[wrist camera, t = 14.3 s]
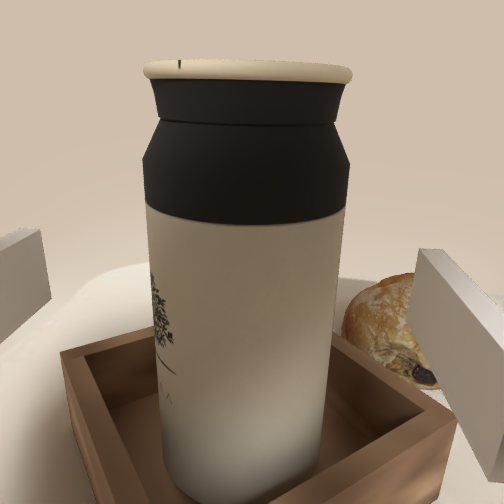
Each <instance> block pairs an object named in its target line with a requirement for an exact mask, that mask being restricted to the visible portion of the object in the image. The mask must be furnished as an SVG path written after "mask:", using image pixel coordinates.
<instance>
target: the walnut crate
mask: <svg viewBox="0 0 504 504" xmlns="http://www.w3.org/2000/svg"><path fill="white" fill-rule="evenodd" d="M60 357H61V363H62V369H63V375H64V381H65V387H66V393H67V399H68V405H69V411H70V417H71V423H72V427H73V431H74V434H75V437H76V440H77V443H78V446H79V449H80V452H81V455H82V458H83V461H84V464H85V467H86V471H87V474H88V477H89V480H90V483H91V486H92V489H93V492H94V495H95V498H96V501H97V504H201V503H199V502H197V501H195V500H194V499H192V498H190V497H189V496H188V495H186V494H185V493H184V492H183V491H182V490H181V489H179V488H178V487H177V485H176V484H175V483H174V482H173V480H172V479H171V477H170V476H169V474H168V472H167V470H166V467H165V464H164V459H163V449H162V435H161V420H160V406H159V392H158V377H157V363H156V348H155V334H154V326H152V327H148V328H145V329H141V330H137V331H134V332H130V333H127V334H123V335H119V336H116V337H112V338H109V339H105V340H102V341H98V342H94V343H91V344H87V345H84V346H80V347H76V348H73V349H69V350H66V351H62V352H60ZM457 422H458V421H457V419H456V417H455V415H454V413H453V412H452V411H450V410H449V409H447V408H446V407H444V406H443V405H441V404H440V403H438V402H437V401H435V400H434V399H432V398H431V397H429V396H428V395H426V394H425V393H423V392H422V391H420V390H419V389H417V388H416V387H414V386H413V385H411V384H410V383H408V382H407V381H405V380H404V379H402V378H401V377H400V376H398V375H397V374H395V373H394V372H392V371H391V370H389V369H388V368H386V367H385V366H383V365H382V364H380V363H379V362H377V361H376V360H374V359H373V358H371V357H370V356H368V355H367V354H365V353H364V352H362V351H361V350H359V349H358V348H356V347H355V346H353V345H352V344H350V343H349V342H347V341H346V340H344V339H343V338H341V337H340V336H338V335H337V334H335V333H334V332H332V338H331V348H330V357H329V367H328V376H327V385H326V395H325V404H324V414H323V423H322V432H321V442H320V451H319V459H318V463H317V467H316V469H315V472H314V474H313V475H312V477H311V479H309V480H307V481H306V482H304V483H302V484H300V485H299V486H297V487H295V488H294V489H292V490H290V491H289V492H287V493H285V494H283V495H282V496H280V497H278V498H277V499H275V500H273V501H272V502H270V503H268V504H431V503H432V502H433V501H435V500H436V499H437V498H438V496H439V492H440V488H441V484H442V480H443V477H444V473H445V469H446V465H447V461H448V457H449V453H450V449H451V445H452V441H453V437H454V434H455V430H456V426H457Z"/></svg>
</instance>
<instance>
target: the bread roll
mask: <svg viewBox="0 0 504 504" xmlns="http://www.w3.org/2000/svg"><path fill="white" fill-rule="evenodd" d="M414 274H415V273H405V274H401V275H395V276H391V277H389V278H385V279H383V280H381V281H380V283H378V284H376V285H374V286H371V287H369V288H366V289H364V290H363V291H361V292H360V293H359V294H357V295H356V297H355V298H354V299H353V300H352V301H351V303H350V304H349V306H348V308H347V310H346V312H345V315H344V320H343V324H342V338H343V339H344V340H346V341H347V342H349V343H350V344H352V345H353V346H355V347H356V348H358V349H359V350H361V351H362V352H364V353H365V354H367V355H368V356H370V357H371V358H373V359H374V360H376V361H377V362H379V363H380V364H382V365H383V366H385V367H386V368H388V369H389V370H391V371H392V372H394V373H395V374H397V375H398V376H400V377H401V378H402V379H404V380H405V381H407V382H408V383H410V384H411V385H413V386H414V387H416V388H417V389H428V390H436V389H441V388H440V386H439V384H438V382H437V380H436V378H435V376H434V374H433V372H432V370H431V368H430V366H429V364H428V362H427V360H426V359H425V357H424V355H423V353H422V351H421V349H420V347H419V345H418V343H417V341H416V339H415V337H414V335H413V333H412V331H411V329H410V327H409V325H408V323H407V321H406V318H407V313H408V307H409V302H410V296H411V291H412V285H413V280H414Z"/></svg>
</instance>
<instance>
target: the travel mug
mask: <svg viewBox="0 0 504 504" xmlns="http://www.w3.org/2000/svg"><path fill="white" fill-rule="evenodd" d="M143 72H144V75H145V76H146V77H147V78H148V79H150V82H151V85H152V88H153V91H154V95H155V101H156V106H157V111H158V117H160V121H159V123H158V125H157V127H156V130H155V132H154V134H153V136H152V139H151V141H150V143H149V145H148V148H147V150H146V152H145V154H144V157H143V159H142V160H143V174H144V189H145V203H146V218H147V233H148V246H149V262H150V276H151V291H152V305H153V319H154V334H155V348H156V363H157V377H158V392H159V406H160V420H161V435H162V449H163V459H164V464H165V467H166V470H167V472H168V474H169V476H170V477H171V479H172V480H173V482H174V483H175V484H176V485H177V487H178V488H179V489H181V490H182V491H183V492H184V493H185V494H186V495H188V496H189V497H190V498H192V499H194V500H195V501H197V502H199V503H201V504H268V503H270V502H272V501H273V500H275V499H277V498H278V497H280V496H282V495H283V494H285V493H287V492H289V491H290V490H292V489H294V488H295V487H297V486H299V485H300V484H302V483H304V482H306V481H307V480H309V479H311V477H312V475H313V474H314V472H315V469H316V467H317V463H318V459H319V451H320V442H321V432H322V423H323V414H324V404H325V395H326V385H327V376H328V367H329V357H330V348H331V338H332V329H333V319H334V310H335V301H336V291H337V282H338V272H339V263H340V253H341V243H342V235H343V225H344V216H345V207H346V206H345V205H346V197H347V188H348V178H349V169H350V163H349V160H348V158H347V155H346V153H345V150H344V148H343V145H342V143H341V140H340V138H339V135H338V132H337V130H336V127H335V125H334V122H335V121H336V118H337V113H338V108H339V104H340V100H341V96H342V93H343V91H344V88H345V85H346V84H347V83H349V82H350V81H351V79H352V71H351V70H350V69H349V68H346V67H342V66H337V65H328V64H318V63H303V62H286V61H261V60H260V61H259V60H165V61H154V62H149V63H147V64H146V65H145V66H144V69H143Z"/></svg>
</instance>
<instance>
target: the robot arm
mask: <svg viewBox="0 0 504 504" xmlns="http://www.w3.org/2000/svg"><path fill="white" fill-rule="evenodd" d="M51 299H52V298H51V292H50V286H49V281H48V274H47V268H46V262H45V256H44V250H43V243H42V237H41V232H40V229H25V228H19V229H17V230H15V231H13V232H11V233H9V234H7V235H5V236H3V237H1V238H0V344H1V343H2V342H3V341H4V340H5V339H6V338H8V337H9V336H10V335H11V334H12V333H13V332H14V331H15V330H17V329H18V328H19V327H20V326H21V325H22V324H23V323H24V322H26V321H27V320H28V319H29V318H30V317H31V316H32V315H34V314H35V313H36V312H37V311H38V310H39V309H40V308H41V307H43V306H44V305H45V304H46V303H47V302H48V301H50V300H51ZM406 321H407V323H408V325H409V327H410V329H411V331H412V333H413V335H414V337H415V339H416V341H417V343H418V345H419V347H420V349H421V351H422V353H423V355H424V357H425V359H426V360H427V362H428V364H429V366H430V368H431V370H432V372H433V374H434V376H435V378H436V380H437V382H438V384H439V386H440V388H441V390H442V392H443V394H444V396H445V398H446V399H447V401H448V403H449V405H450V407H451V409H452V411H453V413H454V415H455V417H456V419H457V421H458V423H459V425H460V427H461V429H462V431H463V433H464V435H465V437H466V438H467V440H468V442H469V444H470V446H471V448H472V450H473V452H474V454H475V456H476V458H477V460H478V462H479V464H480V466H481V468H482V470H483V472H484V474H485V476H486V477H487V479H488V481H489V482H498V483H504V312H503V311H502V310H501V309H500V308H499V307H498V306H497V305H496V304H495V303H494V302H493V301H492V300H491V299H490V298H489V297H488V296H487V295H486V294H485V293H484V292H483V291H482V290H481V289H480V288H479V287H478V286H477V285H476V283H475V282H474V281H472V279H471V278H469V276H468V275H467V274H466V273H464V271H463V270H462V269H461V268H460V267H459V266H458V265H457V264H456V263H455V262H454V261H453V260H452V259H451V258H450V257H449V256H448V255H447V254H446V253H445V252H444V251H443V250H438V249H419V252H418V258H417V263H416V269H415V274H414V280H413V285H412V291H411V296H410V302H409V307H408V313H407V318H406Z"/></svg>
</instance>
